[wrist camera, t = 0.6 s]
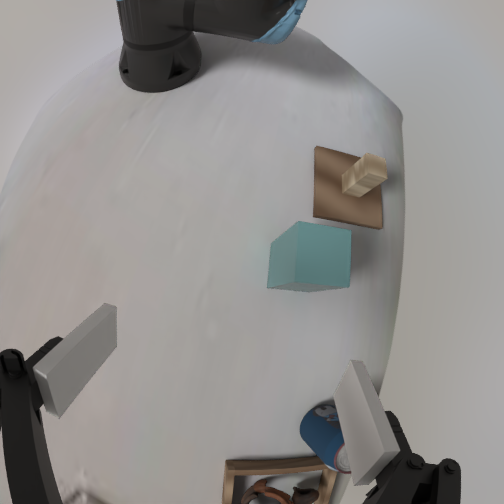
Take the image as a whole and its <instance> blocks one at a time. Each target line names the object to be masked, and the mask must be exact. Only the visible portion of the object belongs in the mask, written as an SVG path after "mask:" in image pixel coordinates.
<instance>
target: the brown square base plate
mask: <svg viewBox="0 0 504 504" xmlns="http://www.w3.org/2000/svg"><path fill="white" fill-rule="evenodd" d="M386 179H387V168H386V159H384V158H381V157H378V156H375V155H372V154H369V153H366V154H365V155H364V156H363V157H362V158H360V157H357V156H353V155H350V154H346V153H343V152H339V151H335V150H332V149H328V148H324V147H320V146H316V147H315V161H314V208H313V217H316V218H321V219H327V220H332V221H337V222H343V223H348V224H353V225H358V226H363V227H368V228H373V229H378V230H379V229H382V203H381V186H380V183H382V182H383V181H385V180H386Z"/></svg>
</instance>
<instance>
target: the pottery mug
mask: <svg viewBox="0 0 504 504" xmlns="http://www.w3.org/2000/svg"><path fill="white" fill-rule="evenodd" d="M266 483H267V480H266V479H264V480H259V481H257V482H256V483H255V484H254V486H251V487H250V488H249V489H248V490H247V491H246V492H245V494H244V495H243V497H242V499H241V504H249V502H250V501H251V500H253V499H254V498H256V497H258V494H259V493H265V496H267V497H272V498H275V499H276V500H278V501H279V502H280V503H281V504H312V503H314V502H315V501H317V500H318V498H319V492H318V491H317V490H315V489H311V488H309V489H300V488H297V487H293V489H294V494H293V496H292V500H293V502H292V501H290V500H289V499H290V497H291V496H290V495H288V494H286V493H284V492H283V491H280V490H277V489H275V488H272V487H266Z"/></svg>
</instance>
